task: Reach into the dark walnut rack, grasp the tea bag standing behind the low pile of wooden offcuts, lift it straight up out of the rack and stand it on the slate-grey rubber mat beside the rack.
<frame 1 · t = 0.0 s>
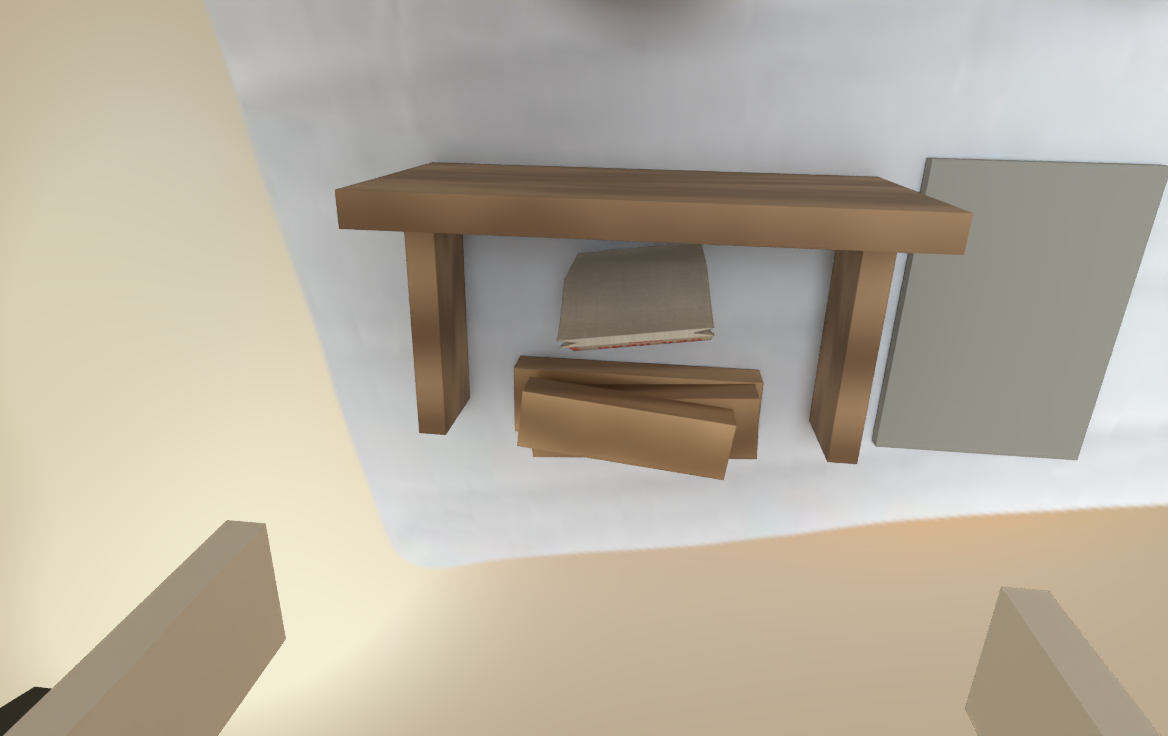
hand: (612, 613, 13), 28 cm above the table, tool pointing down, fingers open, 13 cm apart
offcut stack: (636, 394, 41), on the table
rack: (641, 297, 39), on the table
mat: (1002, 315, 37), on the table
tea bag: (642, 278, 39), on the table
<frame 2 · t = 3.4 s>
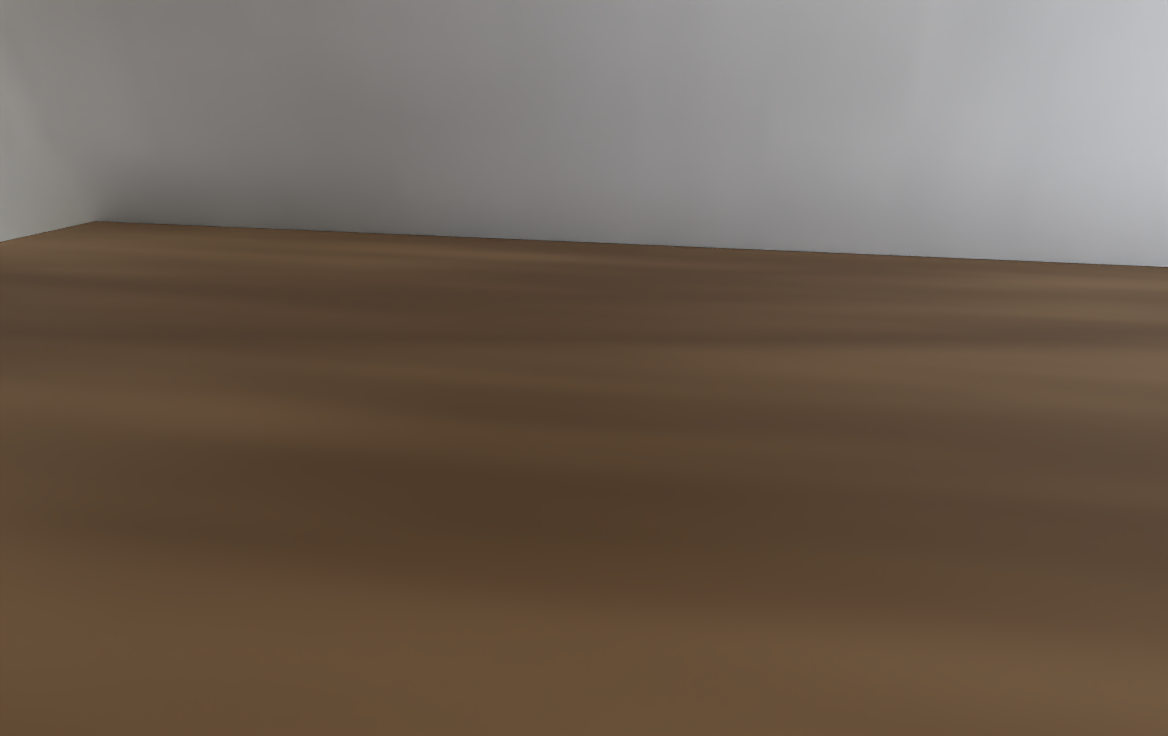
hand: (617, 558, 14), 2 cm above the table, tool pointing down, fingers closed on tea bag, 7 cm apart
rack: (622, 537, 16), on the table
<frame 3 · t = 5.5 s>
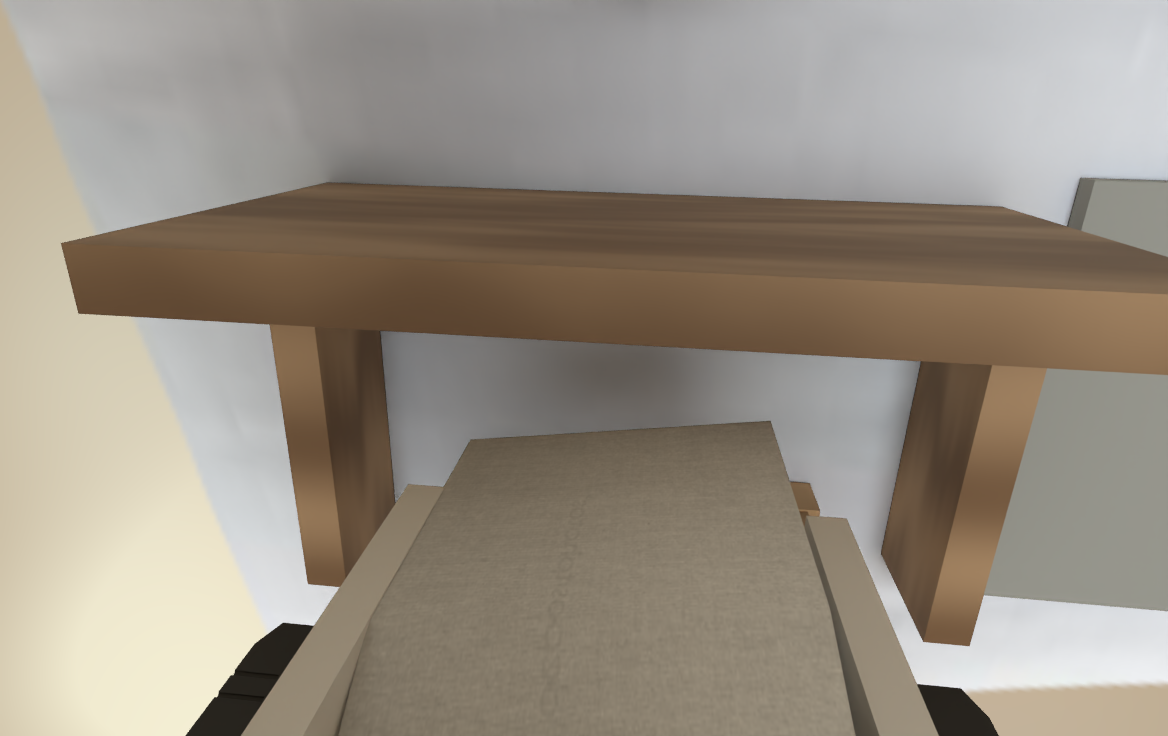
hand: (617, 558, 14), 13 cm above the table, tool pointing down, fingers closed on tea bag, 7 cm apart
offcut stack: (631, 512, 29), on the table
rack: (638, 379, 27), on the table
tea bag: (624, 496, 16), point 11 cm above the table, touching gripper
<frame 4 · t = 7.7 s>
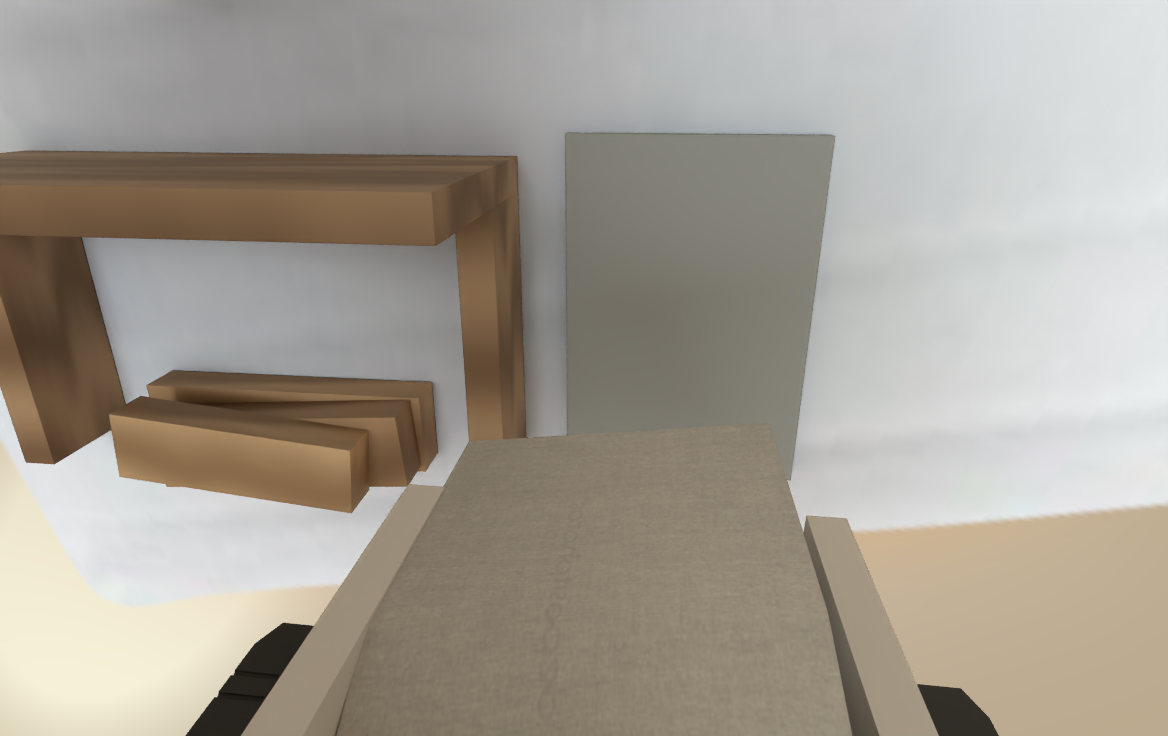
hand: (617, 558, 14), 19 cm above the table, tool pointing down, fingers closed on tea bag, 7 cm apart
offcut stack: (305, 411, 36), on the table
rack: (287, 301, 34), on the table
mat: (685, 315, 32), on the table
tea bag: (623, 498, 16), point 17 cm above the table, touching gripper
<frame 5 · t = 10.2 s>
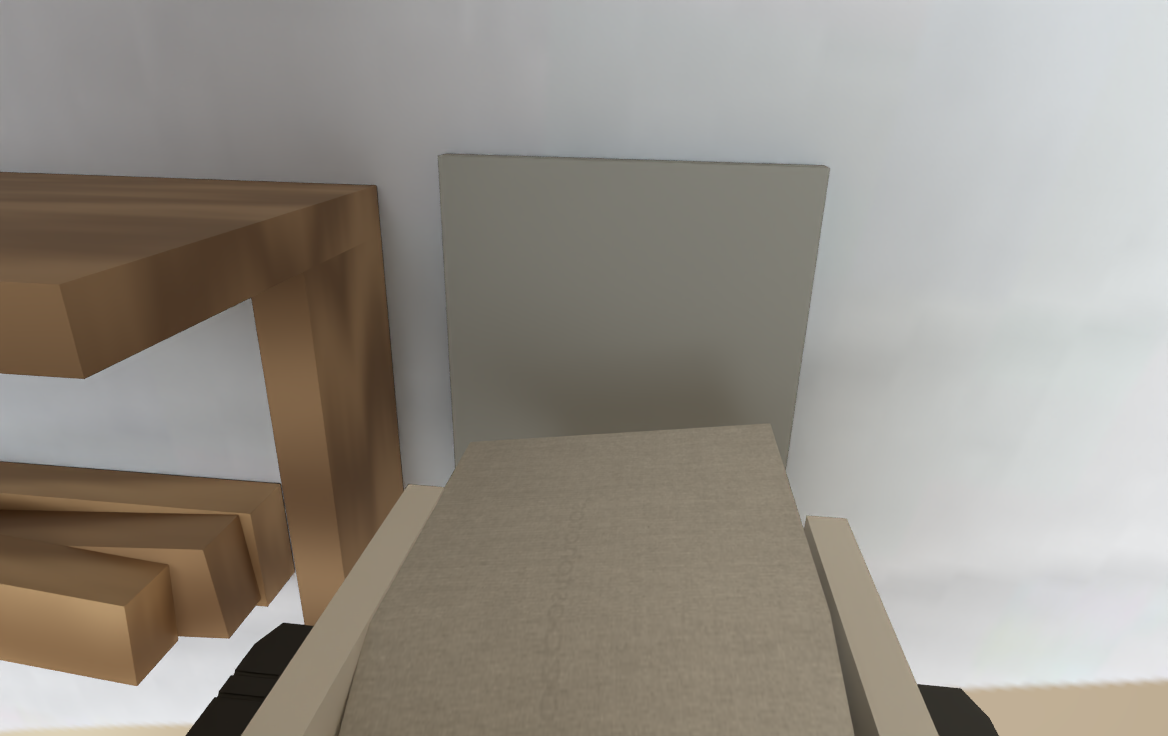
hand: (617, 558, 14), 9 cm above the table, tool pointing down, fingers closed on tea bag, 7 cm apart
offcut stack: (118, 514, 27), on the table
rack: (79, 373, 25), on the table
mat: (619, 408, 23), on the table
tea bag: (624, 499, 16), point 7 cm above the table, touching gripper
when the fingers open (4 cm above the table, at t = 12.2 s): tea bag drops 2 cm, resting on mat.
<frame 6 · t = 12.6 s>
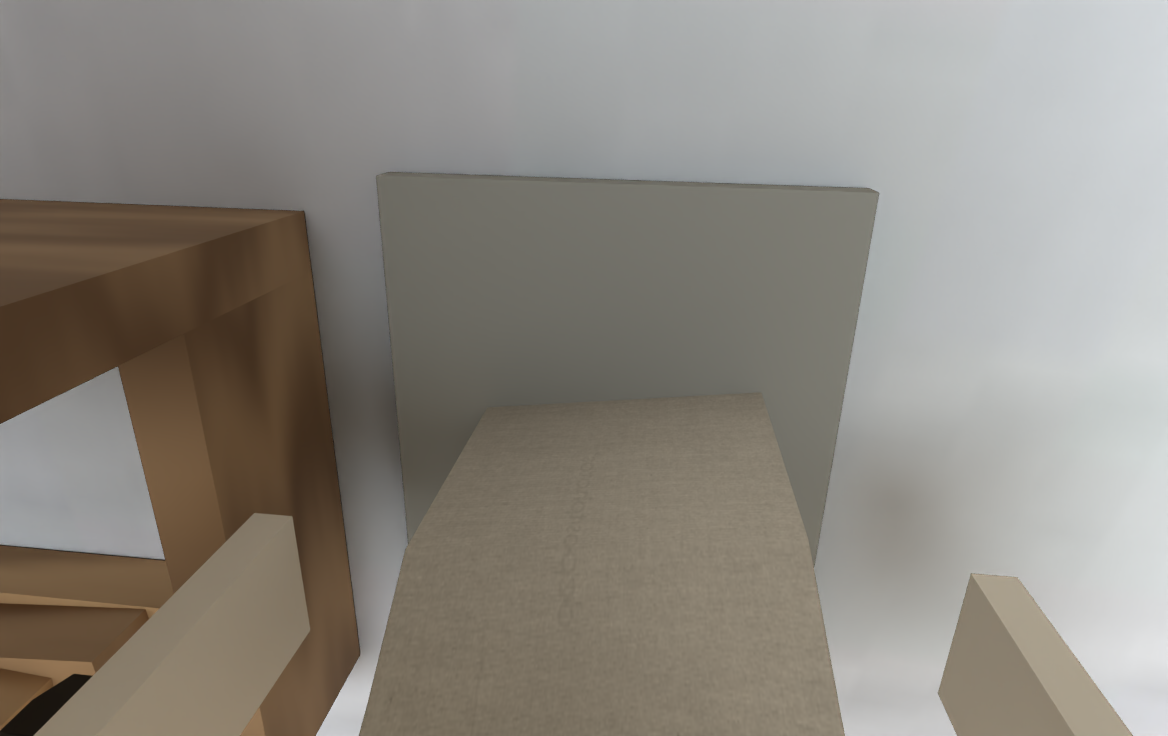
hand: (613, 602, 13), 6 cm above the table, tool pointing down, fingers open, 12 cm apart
offcut stack: (15, 595, 23), on the table
mat: (609, 482, 19), on the table
tea bag: (627, 462, 18), point 1 cm above the table, touching mat
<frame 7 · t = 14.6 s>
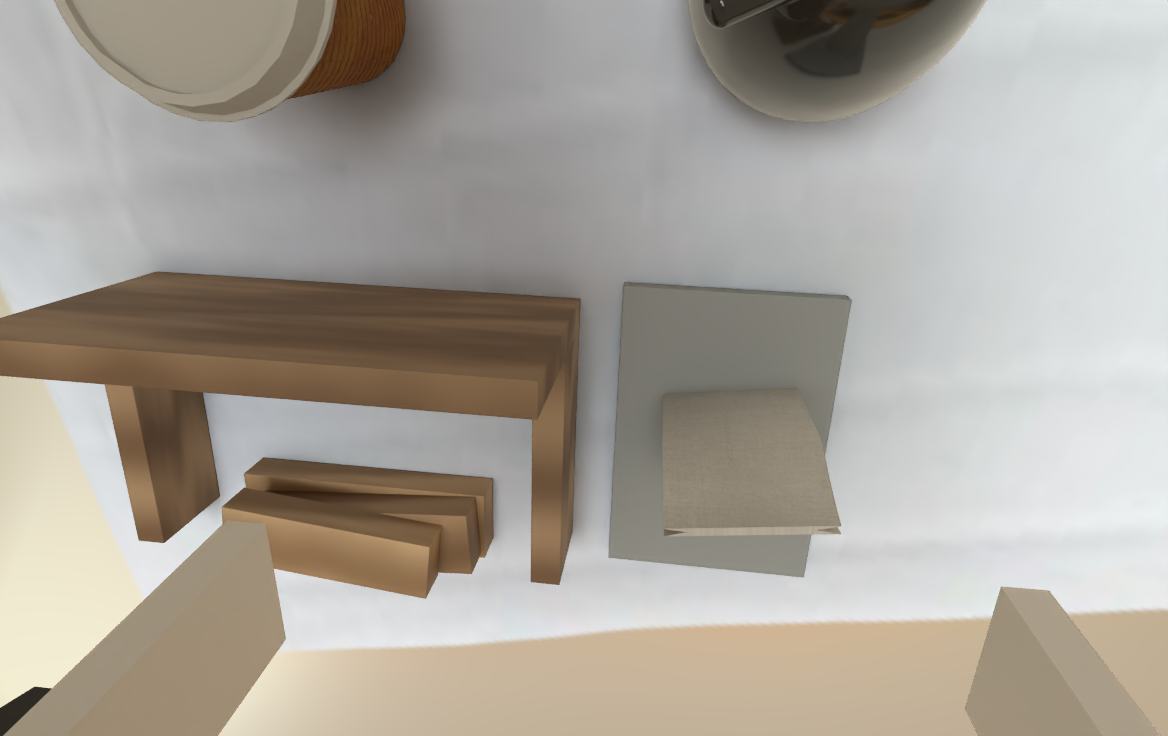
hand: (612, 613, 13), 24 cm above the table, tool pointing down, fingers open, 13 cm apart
offcut stack: (378, 497, 41), on the table
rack: (371, 405, 39), on the table
disposable coffee cup: (343, 13, 33), on the table
mat: (718, 433, 37), on the table
tea bag: (730, 422, 36), point 1 cm above the table, touching mat
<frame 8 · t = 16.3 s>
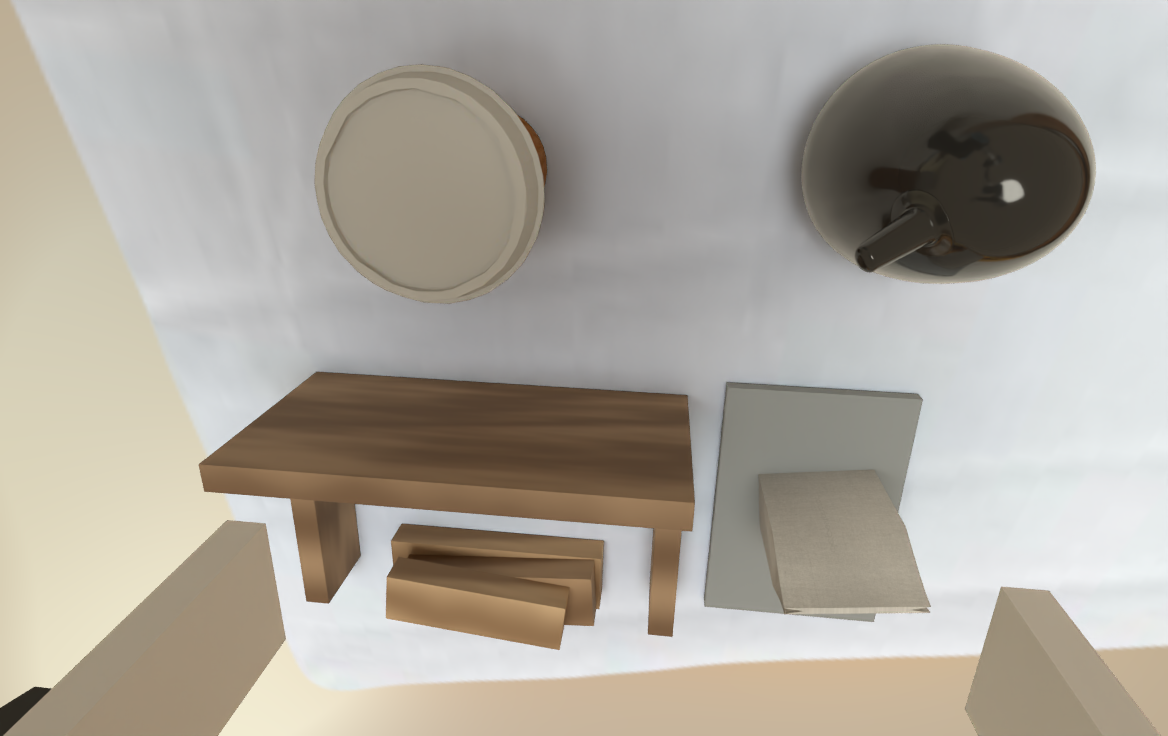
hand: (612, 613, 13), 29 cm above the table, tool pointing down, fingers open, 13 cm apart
offcut stack: (501, 556, 48), on the table
pump dispenser: (886, 159, 36), on the table
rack: (499, 481, 46), on the table
disposable coffee cup: (492, 166, 38), on the table
mat: (802, 504, 44), on the table
tea bag: (814, 496, 43), point 1 cm above the table, touching mat
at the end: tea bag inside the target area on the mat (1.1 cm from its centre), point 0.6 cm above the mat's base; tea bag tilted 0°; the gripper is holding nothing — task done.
